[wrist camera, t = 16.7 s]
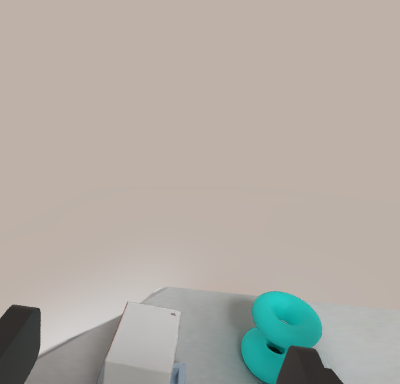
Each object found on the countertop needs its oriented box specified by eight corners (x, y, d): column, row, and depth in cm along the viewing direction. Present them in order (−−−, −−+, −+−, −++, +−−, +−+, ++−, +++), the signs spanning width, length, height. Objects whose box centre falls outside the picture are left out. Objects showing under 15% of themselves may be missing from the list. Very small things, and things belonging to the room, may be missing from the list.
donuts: (266, 279, 51) (328, 307, 47) (251, 326, 54) (308, 356, 50) (245, 313, 42) (319, 351, 38) (229, 366, 46) (295, 406, 42)
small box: (117, 380, 40) (127, 299, 35) (166, 389, 40) (182, 309, 35) (93, 452, 32) (103, 360, 28) (154, 463, 32) (173, 373, 28)
